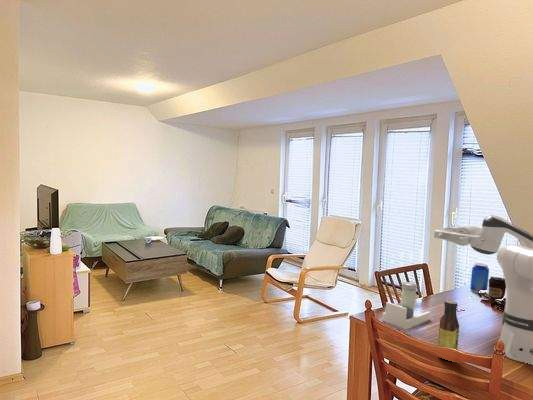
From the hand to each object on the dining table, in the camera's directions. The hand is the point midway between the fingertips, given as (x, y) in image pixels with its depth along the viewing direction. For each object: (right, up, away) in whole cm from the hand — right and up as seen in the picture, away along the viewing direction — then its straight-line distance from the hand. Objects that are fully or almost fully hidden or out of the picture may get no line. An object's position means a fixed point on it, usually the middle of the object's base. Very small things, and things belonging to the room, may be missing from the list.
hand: (450, 238), depth 175 cm
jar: (-22, -35, -5) cm, 41 cm away
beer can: (+37, -35, +44) cm, 68 cm away
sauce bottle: (-20, -38, -39) cm, 58 cm away
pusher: (-25, -34, -8) cm, 43 cm away
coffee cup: (+36, -36, +27) cm, 58 cm away
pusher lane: (-22, -35, -5) cm, 42 cm away
